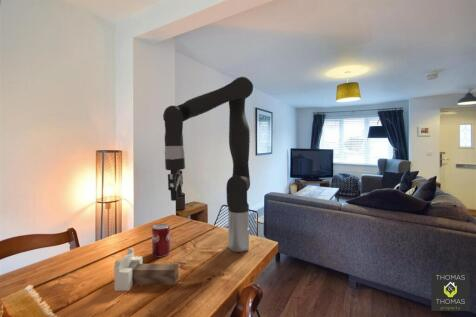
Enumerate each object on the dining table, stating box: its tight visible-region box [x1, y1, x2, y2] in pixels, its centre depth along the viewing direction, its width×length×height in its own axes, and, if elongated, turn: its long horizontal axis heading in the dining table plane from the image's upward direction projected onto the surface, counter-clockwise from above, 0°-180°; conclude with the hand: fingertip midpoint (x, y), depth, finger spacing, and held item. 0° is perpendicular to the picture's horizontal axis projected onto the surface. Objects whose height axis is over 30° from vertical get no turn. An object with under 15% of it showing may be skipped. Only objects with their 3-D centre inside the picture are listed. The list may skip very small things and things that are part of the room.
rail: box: [128, 263, 179, 286], centre depth 79 cm, size 16×4×5 cm, turn 90°
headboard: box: [113, 247, 144, 292], centre depth 78 cm, size 5×10×10 cm, turn 0°
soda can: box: [151, 223, 171, 258], centre depth 98 cm, size 7×7×12 cm
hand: (176, 198), depth 92 cm, fingers open, 8 cm apart
